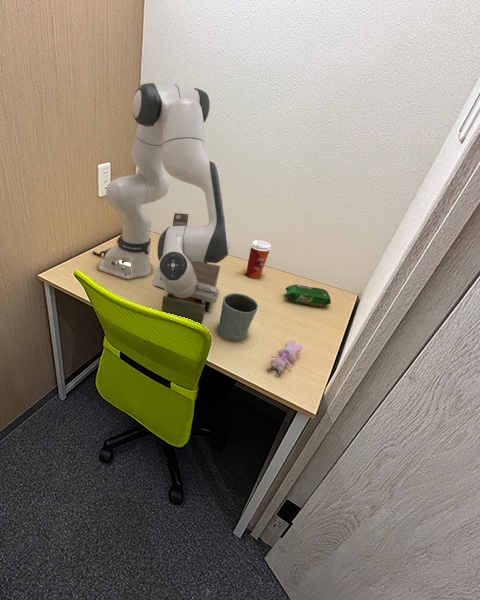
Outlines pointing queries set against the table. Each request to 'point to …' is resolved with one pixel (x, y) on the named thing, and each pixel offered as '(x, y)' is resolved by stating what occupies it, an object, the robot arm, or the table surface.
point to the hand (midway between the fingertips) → (187, 293)
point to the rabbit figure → (286, 356)
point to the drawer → (184, 308)
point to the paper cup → (257, 258)
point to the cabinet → (206, 275)
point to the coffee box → (180, 219)
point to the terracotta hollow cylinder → (188, 299)
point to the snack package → (308, 295)
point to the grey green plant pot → (236, 316)
